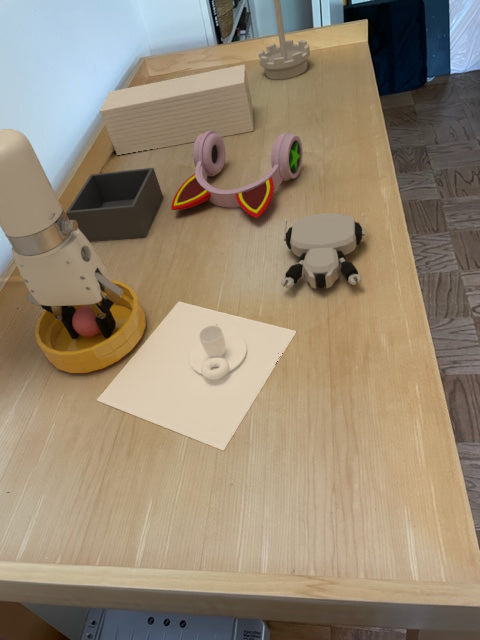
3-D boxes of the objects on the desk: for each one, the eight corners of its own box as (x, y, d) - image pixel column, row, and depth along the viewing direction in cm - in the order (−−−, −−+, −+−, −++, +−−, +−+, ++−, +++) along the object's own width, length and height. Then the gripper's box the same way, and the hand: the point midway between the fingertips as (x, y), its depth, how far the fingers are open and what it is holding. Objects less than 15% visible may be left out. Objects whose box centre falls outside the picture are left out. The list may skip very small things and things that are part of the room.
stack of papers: (253, 111, 126) (244, 64, 119) (253, 131, 119) (244, 82, 111) (125, 135, 131) (109, 91, 124) (117, 156, 124) (99, 111, 116)
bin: (80, 242, 100) (65, 212, 95) (103, 203, 109) (90, 174, 104) (145, 237, 97) (133, 206, 92) (163, 197, 106) (153, 167, 101)
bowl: (32, 376, 76) (17, 355, 73) (71, 303, 87) (59, 282, 84) (129, 375, 73) (118, 353, 70) (158, 299, 83) (149, 277, 80)
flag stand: (316, 72, 136) (302, -70, 115) (266, 85, 136) (243, -54, 116) (305, 56, 145) (290, -78, 125) (258, 68, 146) (236, -63, 125)
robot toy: (366, 298, 76) (364, 229, 85) (364, 275, 72) (363, 206, 82) (280, 301, 79) (288, 234, 88) (275, 279, 75) (284, 212, 85)
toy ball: (75, 343, 78) (62, 321, 75) (85, 321, 82) (73, 299, 78) (103, 343, 77) (91, 321, 74) (113, 320, 80) (102, 298, 77)
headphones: (301, 125, 98) (256, 170, 85) (305, 176, 104) (264, 225, 91) (209, 124, 107) (154, 165, 93) (217, 171, 113) (167, 216, 99)
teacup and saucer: (225, 389, 68) (218, 368, 65) (175, 372, 71) (166, 352, 69) (257, 341, 73) (252, 319, 70) (208, 327, 76) (201, 307, 74)
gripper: (110, 209, 67) (154, 312, 80) (-5, 219, 71) (53, 315, 84) (90, 245, 62) (140, 349, 75) (-33, 254, 66) (34, 351, 79)
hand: (93, 330), depth 79 cm, fingers closed on toy ball, 4 cm apart
